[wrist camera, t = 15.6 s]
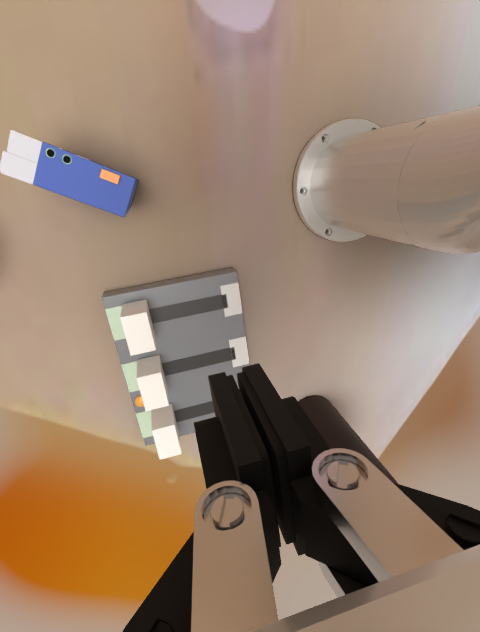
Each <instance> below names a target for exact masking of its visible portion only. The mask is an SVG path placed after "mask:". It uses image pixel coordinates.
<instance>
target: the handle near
mask: <svg viewBox="0 0 480 632" xmlns="http://www.w3.org/2000/svg"><path fill="white" fill-rule="evenodd" d="M120 319H121V323H122V326H123V330H124V333H125V337H126V341H127V344H128V348H129V351H130V355H131V356H132V355H137V354H141V353H146V352H150V351H155V350H156V343H155V332H154V328H153V324H152V320H151V316H150V312H149V308H148V304H147V300H146V299H145V300H140V301H135V302H130V303H125V304H123V305H122V310H121V315H120Z"/></svg>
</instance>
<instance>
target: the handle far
mask: <svg viewBox="0 0 480 632" xmlns="http://www.w3.org/2000/svg"><path fill="white" fill-rule="evenodd" d="M151 421H152V433H153V437H154V441H155V444H156V448H157V451H158V455H159V458H160V460H161V459H165V458H168V457H172V456H175V455H179V454H182V453H181V445H180V438H179V431H178V426H177V422H176V418H175V414H174V410H173V406H172V404H169V406H165V407H161V408H157V409H153V410H151Z"/></svg>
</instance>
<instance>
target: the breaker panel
mask: <svg viewBox="0 0 480 632" xmlns="http://www.w3.org/2000/svg"><path fill="white" fill-rule="evenodd" d="M145 299H146V300H147V304H148V308H149V312H150V316H151V320H152V324H153V328H154V332H155V343H156V350H155V351H150V352H146V353H141V354H137V355H132V356H131V355H130V351H129V348H128V344H127V341H126V337H125V333H124V330H123V326H122V323H121V319H120V315H121V310H122V305H123V304H125V303H130V302H135V301H140V300H145ZM102 300H103V303H104V307H105V311H106V314H107V318H108V321H109V324H110V328H111V331H112V335H113V338H114V341H115V344H116V348H117V351H118V354H119V358H120V361H121V365H122V369H123V372H124V375H125V379H126V382H127V386H128V389H129V392H130V395H131V398H132V402H133V405H134V409H135V412H136V416H137V419H138V423H139V426H140V430H141V433H142V436H143V439H144V443H145V446H146V445H150V444H154V443H155V441H154V437H153V433H152V421H151V410H149V411H145V407H144V403H143V400H142V396H141V393H140V389H139V386H138V382H137V378H136V377H137V360H139V359H143V358H148V357H152V356H156V355H160V359H161V363H162V367H163V371H164V375H165V379H166V384H167V390H168V400H169V404H172V406H173V410H174V414H175V418H176V422H177V426H178V431H179V437H180V436H183V435H187V434H191V433H194V432H195V428H194V422H198V421H201V420H205V419H209V418H213V417H216V416H215V411H214V406H213V401H212V396H211V390H210V385H209V380H208V376H209V375H213V374H217V373H221V372H225V373H226V376H228V375H233V377H234V379H235V382H236V384H237V386H238V380H237V373H240V372H242V367H246V366H250V365H249V357H248V350H247V342H246V336H245V329H244V322H243V315H242V306H241V299H240V292H239V285H238V279H237V272H236V271H235V270H234V269H233V268H228V269H223V270H217V271H212V272H207V273H202V274H196V275H191V276H186V277H181V278H175V279H170V280H165V281H160V282H155V283H149V284H144V285H139V286H134V287H128V288H123V289H118V290H113V291H108V292H104V293H103V296H102ZM238 388H239V386H238Z"/></svg>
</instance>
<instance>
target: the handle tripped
mask: <svg viewBox="0 0 480 632" xmlns="http://www.w3.org/2000/svg"><path fill="white" fill-rule="evenodd" d="M136 378H137V382H138V386H139V389H140V393H141V396H142V400H143V403H144V407H145V411H149V410H153V409H157V408H161V407H165V406H169V400H168V390H167V384H166V379H165V375H164V371H163V367H162V363H161V359H160V355H156V356H152V357H148V358H143V359H139V360H137V377H136Z"/></svg>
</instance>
